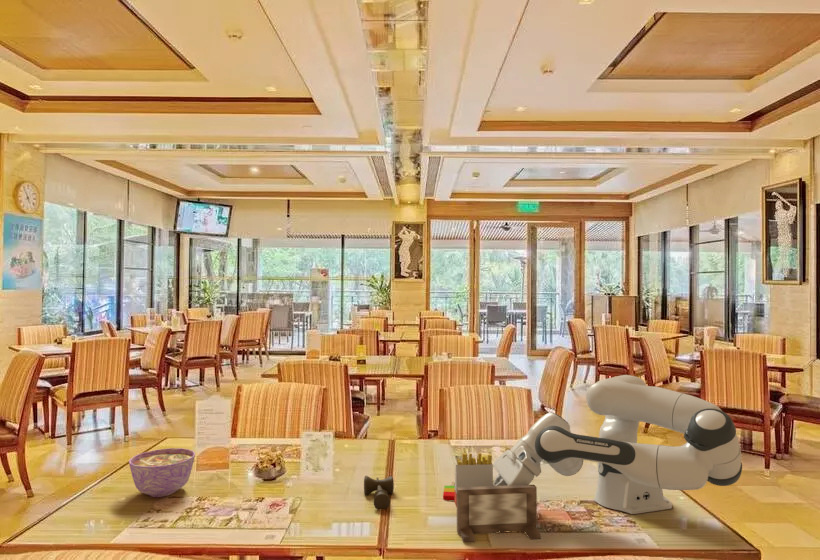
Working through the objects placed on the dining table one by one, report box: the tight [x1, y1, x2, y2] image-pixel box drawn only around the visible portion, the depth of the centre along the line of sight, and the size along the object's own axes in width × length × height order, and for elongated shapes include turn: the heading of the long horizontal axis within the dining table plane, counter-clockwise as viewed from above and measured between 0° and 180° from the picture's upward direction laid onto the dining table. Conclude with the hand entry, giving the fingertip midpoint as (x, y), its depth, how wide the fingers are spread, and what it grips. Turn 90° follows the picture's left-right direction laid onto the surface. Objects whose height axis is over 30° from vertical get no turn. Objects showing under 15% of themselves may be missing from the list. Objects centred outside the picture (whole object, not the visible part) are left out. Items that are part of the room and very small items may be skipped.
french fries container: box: [454, 452, 494, 508], centre depth 163 cm, size 5×11×18 cm, turn 93°
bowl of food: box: [128, 447, 196, 498], centre depth 179 cm, size 20×20×12 cm
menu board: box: [456, 484, 542, 544], centre depth 148 cm, size 22×7×12 cm, turn 96°
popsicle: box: [442, 481, 455, 502], centre depth 179 cm, size 6×15×2 cm, turn 173°
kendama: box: [363, 475, 395, 511], centre depth 174 cm, size 6×10×20 cm
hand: (493, 490), depth 163 cm, fingers closed
